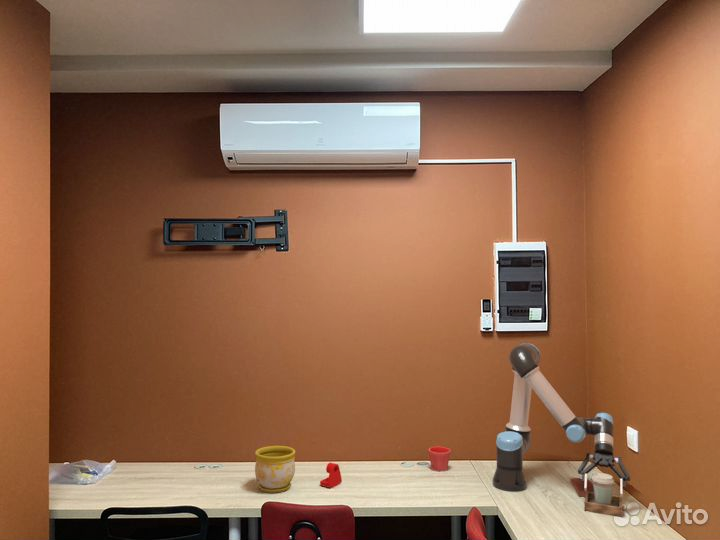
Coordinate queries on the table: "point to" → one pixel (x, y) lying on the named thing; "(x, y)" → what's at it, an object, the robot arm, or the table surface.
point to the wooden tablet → (582, 486)
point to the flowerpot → (274, 468)
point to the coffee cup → (603, 488)
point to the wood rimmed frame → (603, 509)
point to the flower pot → (439, 458)
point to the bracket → (332, 476)
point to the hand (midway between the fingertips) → (603, 492)
